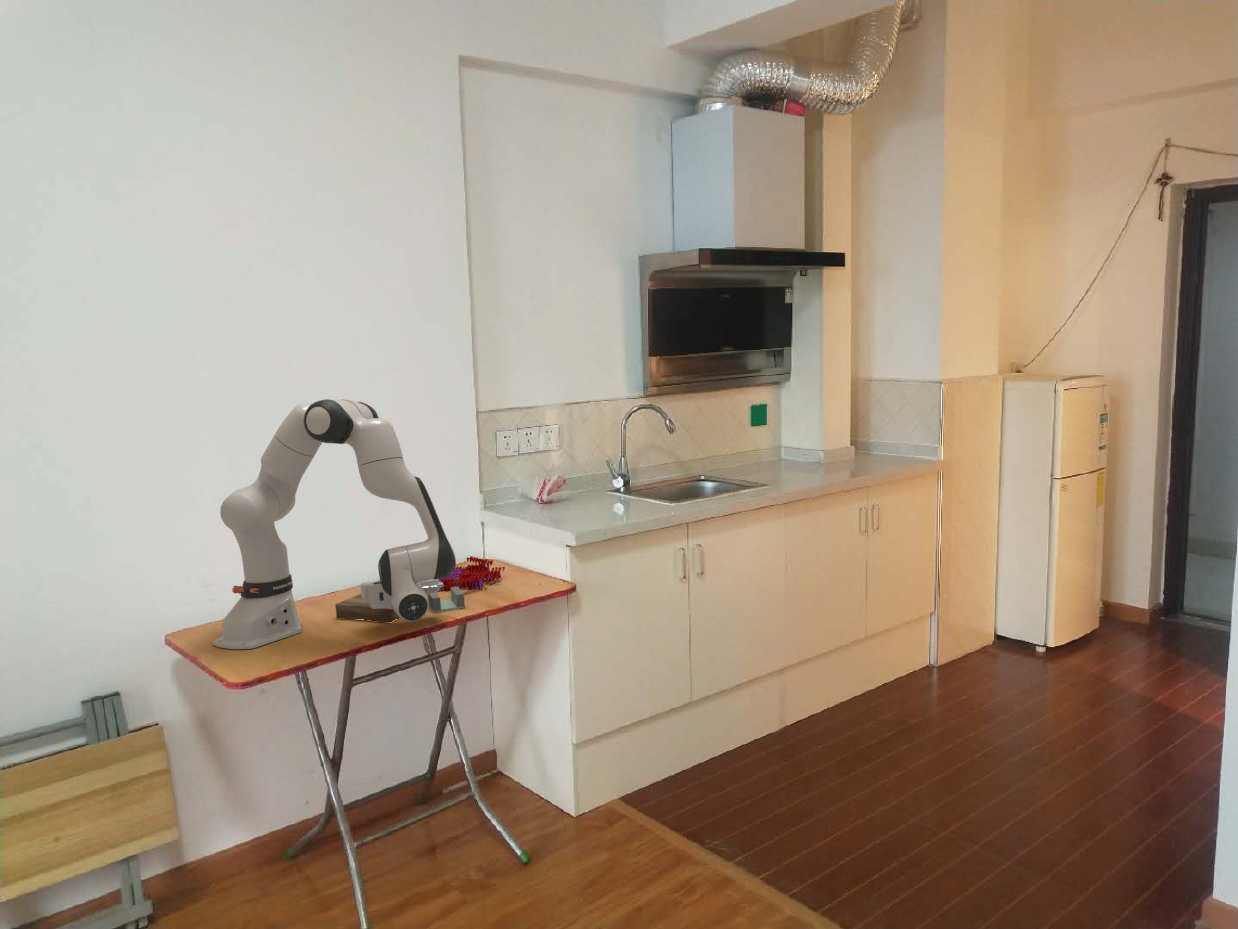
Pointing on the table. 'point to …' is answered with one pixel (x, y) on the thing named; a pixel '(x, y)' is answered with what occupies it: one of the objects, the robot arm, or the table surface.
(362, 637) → the table surface
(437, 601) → the rack
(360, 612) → the deck
